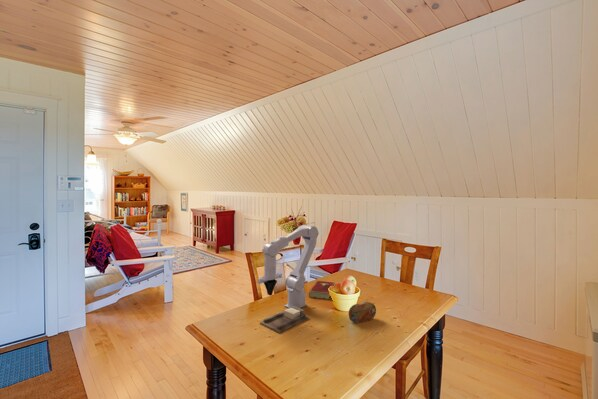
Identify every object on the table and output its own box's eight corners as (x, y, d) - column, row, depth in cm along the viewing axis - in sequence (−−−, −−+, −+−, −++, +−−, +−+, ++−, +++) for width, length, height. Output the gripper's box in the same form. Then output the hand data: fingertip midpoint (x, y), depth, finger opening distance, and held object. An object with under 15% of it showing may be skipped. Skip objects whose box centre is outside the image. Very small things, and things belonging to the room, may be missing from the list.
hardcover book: (308, 297, 170) (308, 290, 170) (316, 286, 190) (316, 280, 190) (329, 300, 167) (329, 292, 167) (334, 288, 187) (335, 281, 187)
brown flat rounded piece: (351, 325, 135) (351, 307, 135) (347, 322, 138) (347, 304, 138) (376, 319, 142) (376, 301, 142) (371, 316, 145) (372, 299, 145)
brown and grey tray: (290, 310, 150) (290, 303, 150) (309, 318, 141) (309, 310, 141) (259, 323, 135) (260, 315, 135) (279, 333, 127) (279, 324, 126)
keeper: (291, 312, 146) (291, 307, 146) (300, 316, 142) (300, 310, 141) (284, 315, 142) (284, 310, 142) (293, 319, 138) (293, 314, 138)
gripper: (275, 263, 154) (275, 289, 155) (253, 269, 144) (253, 296, 144) (284, 266, 150) (284, 292, 150) (263, 271, 139) (262, 300, 139)
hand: (269, 294), depth 147 cm, fingers closed
